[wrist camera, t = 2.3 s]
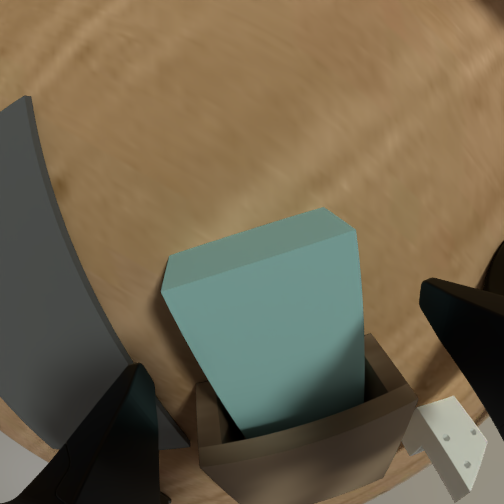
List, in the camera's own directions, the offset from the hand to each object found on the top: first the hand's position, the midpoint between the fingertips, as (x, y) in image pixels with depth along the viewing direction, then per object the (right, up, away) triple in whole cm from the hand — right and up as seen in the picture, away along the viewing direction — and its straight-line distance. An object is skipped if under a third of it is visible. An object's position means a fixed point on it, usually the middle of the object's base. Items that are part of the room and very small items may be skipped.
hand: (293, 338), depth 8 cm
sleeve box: (+2, -8, +8) cm, 11 cm away
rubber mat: (-13, -2, +3) cm, 13 cm away
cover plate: (0, -3, +6) cm, 6 cm away
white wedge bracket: (+15, -13, +12) cm, 23 cm away
